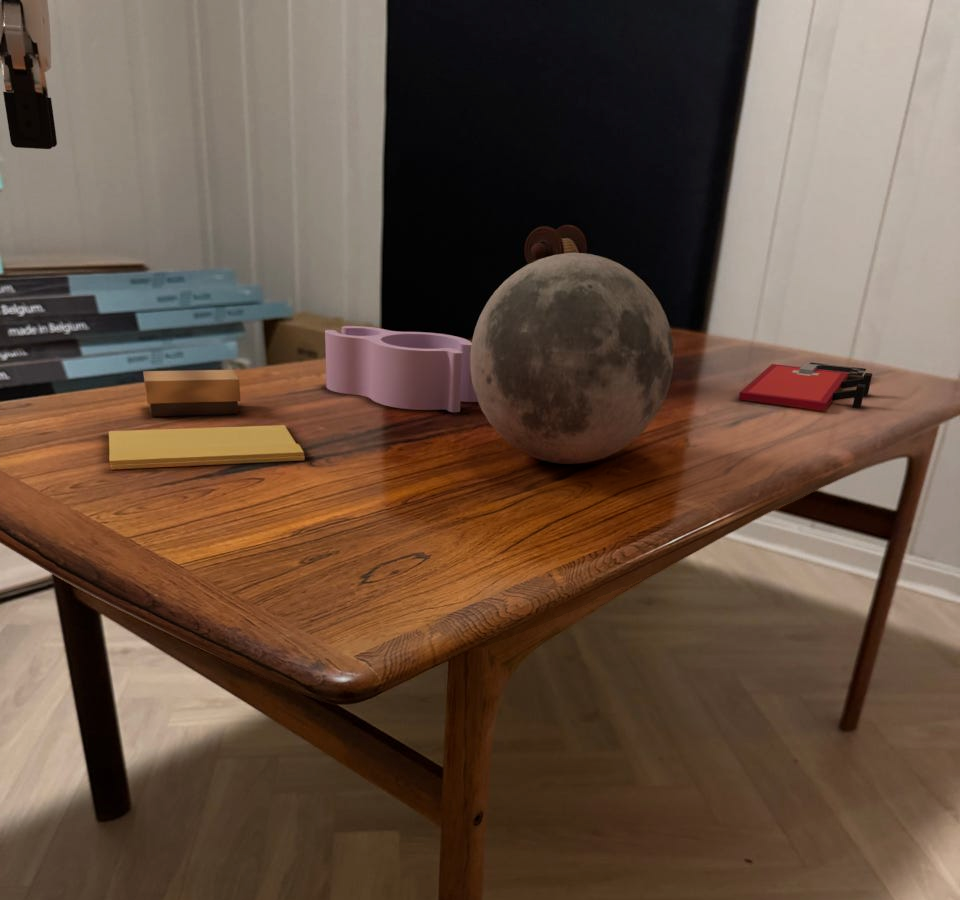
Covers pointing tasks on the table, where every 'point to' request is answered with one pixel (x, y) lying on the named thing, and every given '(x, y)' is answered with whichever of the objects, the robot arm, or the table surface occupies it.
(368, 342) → the pink curved hollow block
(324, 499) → the table surface
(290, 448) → the flat yellow board
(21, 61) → the robot arm
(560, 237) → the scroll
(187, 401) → the brush
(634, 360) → the moon model
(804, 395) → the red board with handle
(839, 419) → the table surface
